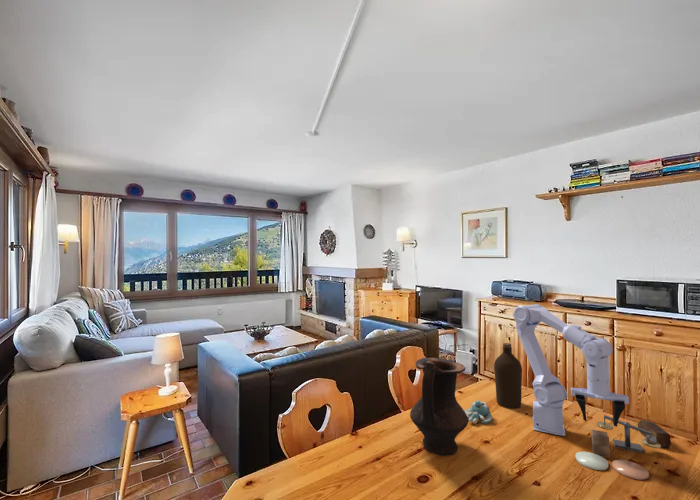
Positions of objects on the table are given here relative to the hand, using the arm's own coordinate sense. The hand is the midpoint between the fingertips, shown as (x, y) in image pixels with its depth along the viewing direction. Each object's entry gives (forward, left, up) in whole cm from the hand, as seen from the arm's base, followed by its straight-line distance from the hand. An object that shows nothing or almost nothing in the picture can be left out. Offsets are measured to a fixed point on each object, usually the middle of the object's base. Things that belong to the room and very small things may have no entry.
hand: (599, 422), depth 106 cm
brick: (+16, +18, -10) cm, 26 cm away
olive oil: (-28, +26, -10) cm, 39 cm away
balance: (+8, +8, -9) cm, 15 cm away
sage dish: (-3, -7, -9) cm, 12 cm away
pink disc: (+6, -7, -9) cm, 13 cm away
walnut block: (0, 0, -10) cm, 10 cm away
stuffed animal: (-37, +6, -10) cm, 39 cm away
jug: (-45, -21, -10) cm, 51 cm away
